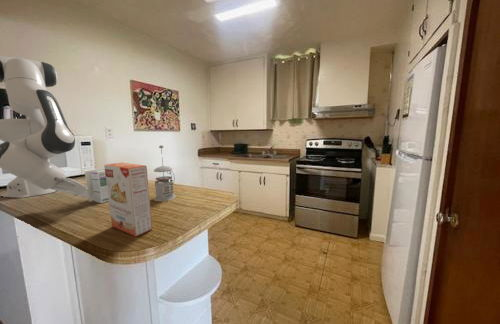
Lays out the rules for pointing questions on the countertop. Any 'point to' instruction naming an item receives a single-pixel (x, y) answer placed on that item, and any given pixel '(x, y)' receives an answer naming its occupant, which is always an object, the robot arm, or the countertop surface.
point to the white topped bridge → (90, 184)
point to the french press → (164, 184)
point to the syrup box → (99, 186)
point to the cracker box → (129, 197)
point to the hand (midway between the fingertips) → (82, 195)
